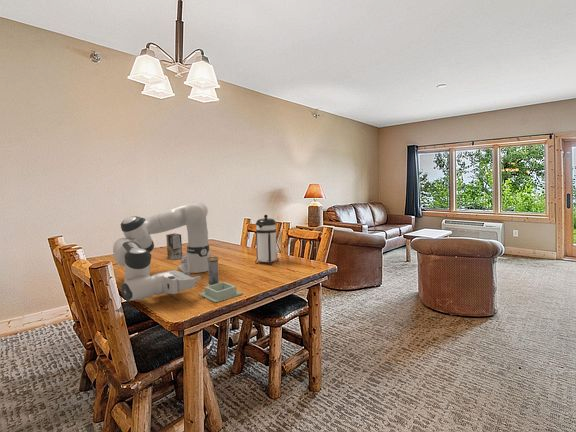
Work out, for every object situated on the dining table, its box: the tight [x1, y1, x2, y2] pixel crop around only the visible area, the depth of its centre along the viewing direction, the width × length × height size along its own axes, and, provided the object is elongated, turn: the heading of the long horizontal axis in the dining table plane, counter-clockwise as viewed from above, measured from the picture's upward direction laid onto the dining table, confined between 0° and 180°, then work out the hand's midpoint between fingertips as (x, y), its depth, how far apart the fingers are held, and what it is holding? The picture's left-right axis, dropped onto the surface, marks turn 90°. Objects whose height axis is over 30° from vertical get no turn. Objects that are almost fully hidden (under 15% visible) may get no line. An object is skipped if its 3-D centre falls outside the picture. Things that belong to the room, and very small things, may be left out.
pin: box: [207, 256, 220, 286], centre depth 149 cm, size 5×5×14 cm
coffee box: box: [165, 233, 183, 261], centre depth 207 cm, size 9×6×16 cm
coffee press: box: [254, 214, 279, 266], centre depth 193 cm, size 17×16×30 cm
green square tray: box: [198, 281, 244, 304], centre depth 138 cm, size 14×14×4 cm
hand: (194, 275), depth 142 cm, fingers open, 8 cm apart
